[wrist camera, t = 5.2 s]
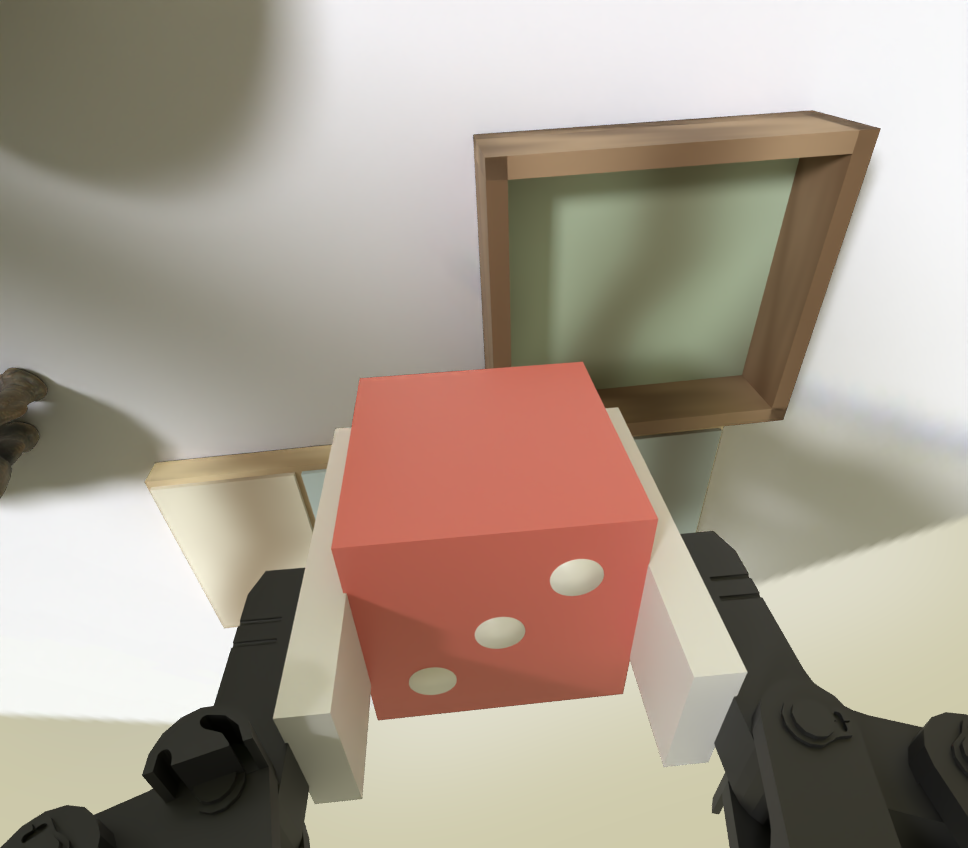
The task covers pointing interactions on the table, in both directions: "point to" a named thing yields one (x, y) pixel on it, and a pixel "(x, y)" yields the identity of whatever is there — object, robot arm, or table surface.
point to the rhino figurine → (9, 401)
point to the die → (490, 539)
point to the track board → (296, 495)
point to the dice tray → (667, 256)
